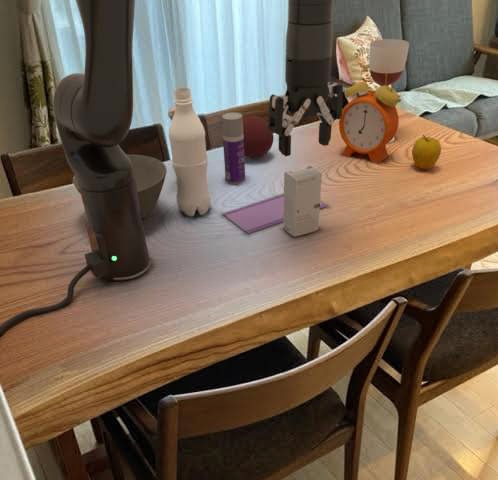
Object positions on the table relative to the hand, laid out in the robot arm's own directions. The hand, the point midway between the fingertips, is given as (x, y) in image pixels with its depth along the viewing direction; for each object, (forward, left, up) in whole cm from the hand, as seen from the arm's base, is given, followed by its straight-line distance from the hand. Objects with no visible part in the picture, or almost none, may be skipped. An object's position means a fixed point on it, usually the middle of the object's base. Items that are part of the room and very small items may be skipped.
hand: (304, 149), depth 98 cm
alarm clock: (+35, +21, -17) cm, 44 cm away
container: (+1, +28, -17) cm, 32 cm away
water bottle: (-14, +20, -17) cm, 29 cm away
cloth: (0, +10, -17) cm, 19 cm away
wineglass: (+46, +28, -17) cm, 56 cm away
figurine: (-9, +32, -17) cm, 37 cm away
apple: (+41, +7, -17) cm, 45 cm away
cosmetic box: (0, 0, -17) cm, 17 cm away
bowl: (-27, +26, -17) cm, 41 cm away
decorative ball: (+12, +37, -17) cm, 42 cm away
